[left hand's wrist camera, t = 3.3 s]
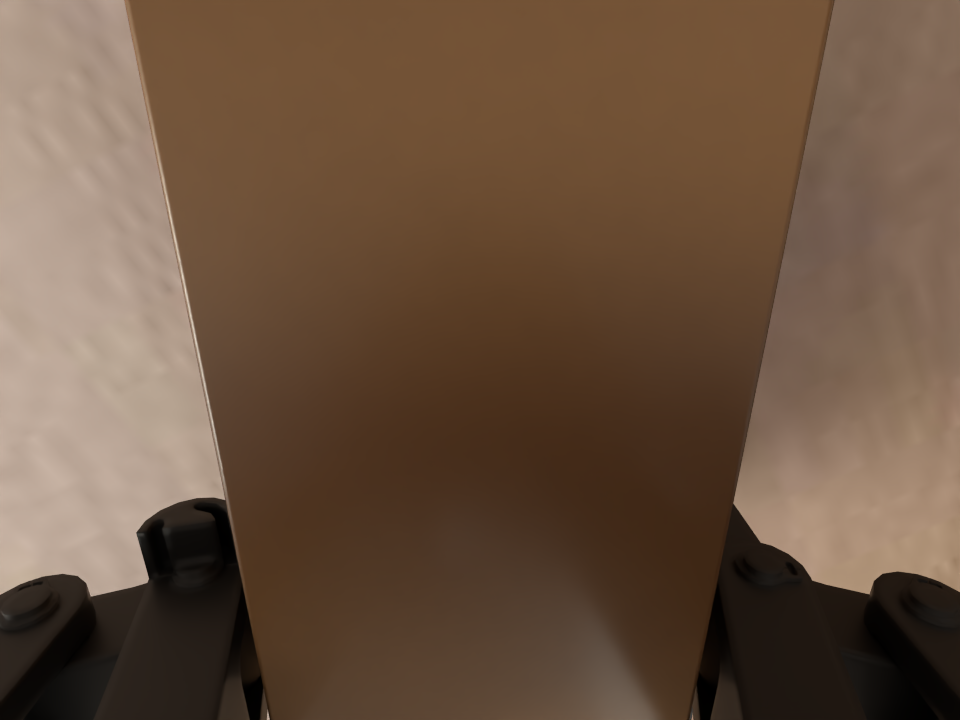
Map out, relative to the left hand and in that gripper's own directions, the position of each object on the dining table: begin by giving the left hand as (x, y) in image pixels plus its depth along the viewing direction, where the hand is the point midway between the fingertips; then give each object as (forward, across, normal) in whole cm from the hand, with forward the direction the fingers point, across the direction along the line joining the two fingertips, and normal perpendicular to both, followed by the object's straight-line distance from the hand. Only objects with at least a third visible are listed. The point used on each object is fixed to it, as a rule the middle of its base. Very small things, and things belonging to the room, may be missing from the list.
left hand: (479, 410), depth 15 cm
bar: (+1, 0, -9) cm, 9 cm away
